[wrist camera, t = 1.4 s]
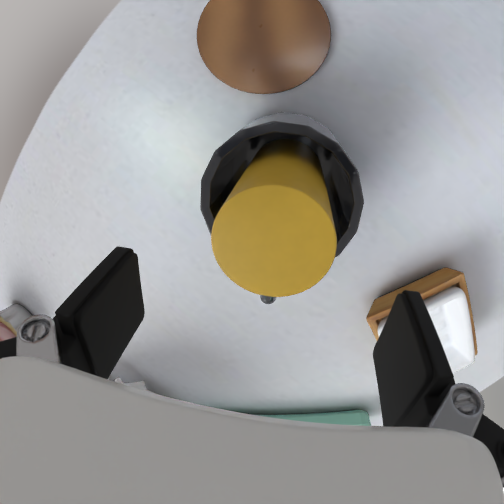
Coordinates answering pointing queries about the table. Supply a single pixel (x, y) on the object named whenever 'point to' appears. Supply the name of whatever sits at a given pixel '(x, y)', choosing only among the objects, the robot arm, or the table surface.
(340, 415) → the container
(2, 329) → the cupcake
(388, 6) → the table surface
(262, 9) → the coaster
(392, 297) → the soap dish
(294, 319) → the table surface
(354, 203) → the mug
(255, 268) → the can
